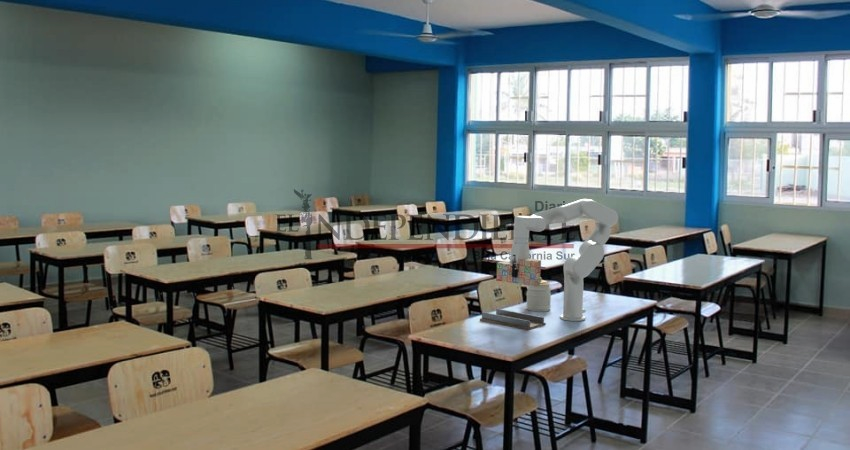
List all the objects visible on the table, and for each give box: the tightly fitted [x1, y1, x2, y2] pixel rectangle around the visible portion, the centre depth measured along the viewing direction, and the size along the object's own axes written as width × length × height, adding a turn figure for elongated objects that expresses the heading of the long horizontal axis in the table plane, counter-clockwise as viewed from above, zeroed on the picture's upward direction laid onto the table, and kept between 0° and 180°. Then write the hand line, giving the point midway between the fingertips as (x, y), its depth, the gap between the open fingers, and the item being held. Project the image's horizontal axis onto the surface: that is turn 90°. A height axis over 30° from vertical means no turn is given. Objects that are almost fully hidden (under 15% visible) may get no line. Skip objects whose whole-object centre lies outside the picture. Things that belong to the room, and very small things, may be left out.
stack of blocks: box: [495, 258, 542, 286], centre depth 377 cm, size 21×6×12 cm, turn 58°
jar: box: [525, 276, 552, 312], centre depth 404 cm, size 13×13×18 cm
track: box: [479, 308, 547, 331], centre depth 371 cm, size 16×28×4 cm, turn 49°
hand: (519, 276), depth 377 cm, fingers closed on stack of blocks, 7 cm apart
